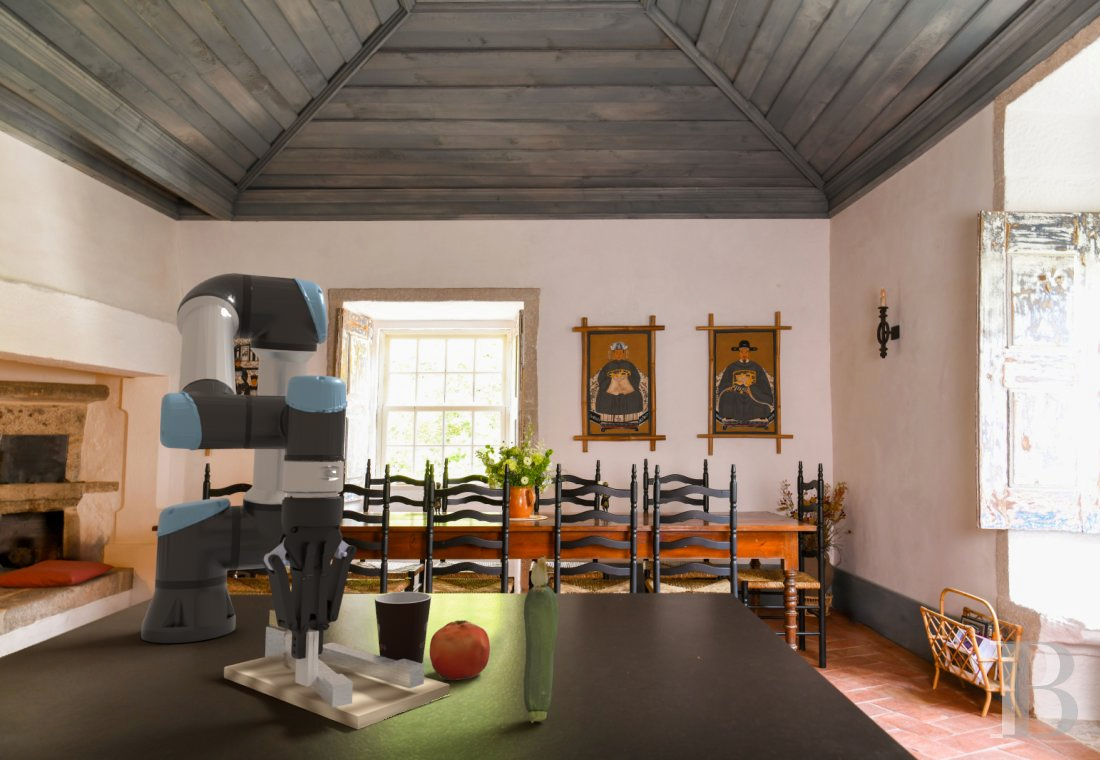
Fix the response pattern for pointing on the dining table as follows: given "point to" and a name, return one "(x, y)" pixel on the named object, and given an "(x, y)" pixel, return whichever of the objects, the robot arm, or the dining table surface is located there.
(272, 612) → the tab
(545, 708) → the vegetable
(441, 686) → the board
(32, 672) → the dining table surface
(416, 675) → the base
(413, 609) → the coffee mug
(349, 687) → the tong arm
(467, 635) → the tomato
